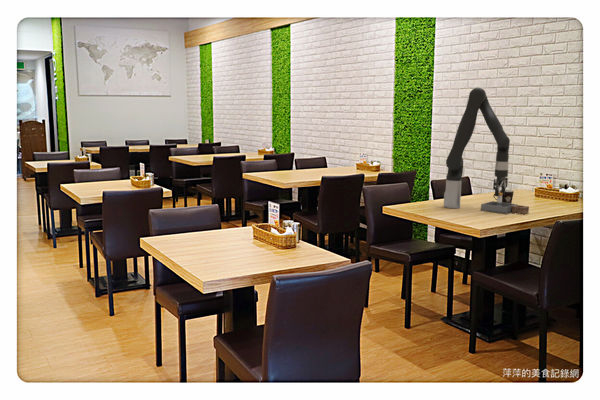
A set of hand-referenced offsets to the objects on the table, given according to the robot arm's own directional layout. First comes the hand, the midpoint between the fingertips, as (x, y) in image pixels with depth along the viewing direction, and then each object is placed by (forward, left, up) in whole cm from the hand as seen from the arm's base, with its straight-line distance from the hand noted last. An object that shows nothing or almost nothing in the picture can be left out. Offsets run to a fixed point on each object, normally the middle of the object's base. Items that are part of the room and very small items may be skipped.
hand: (499, 195), depth 333 cm
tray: (0, 0, -9) cm, 9 cm away
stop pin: (0, 0, -9) cm, 9 cm away
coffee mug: (-5, +17, -10) cm, 20 cm away
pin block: (+13, +2, -9) cm, 16 cm away
